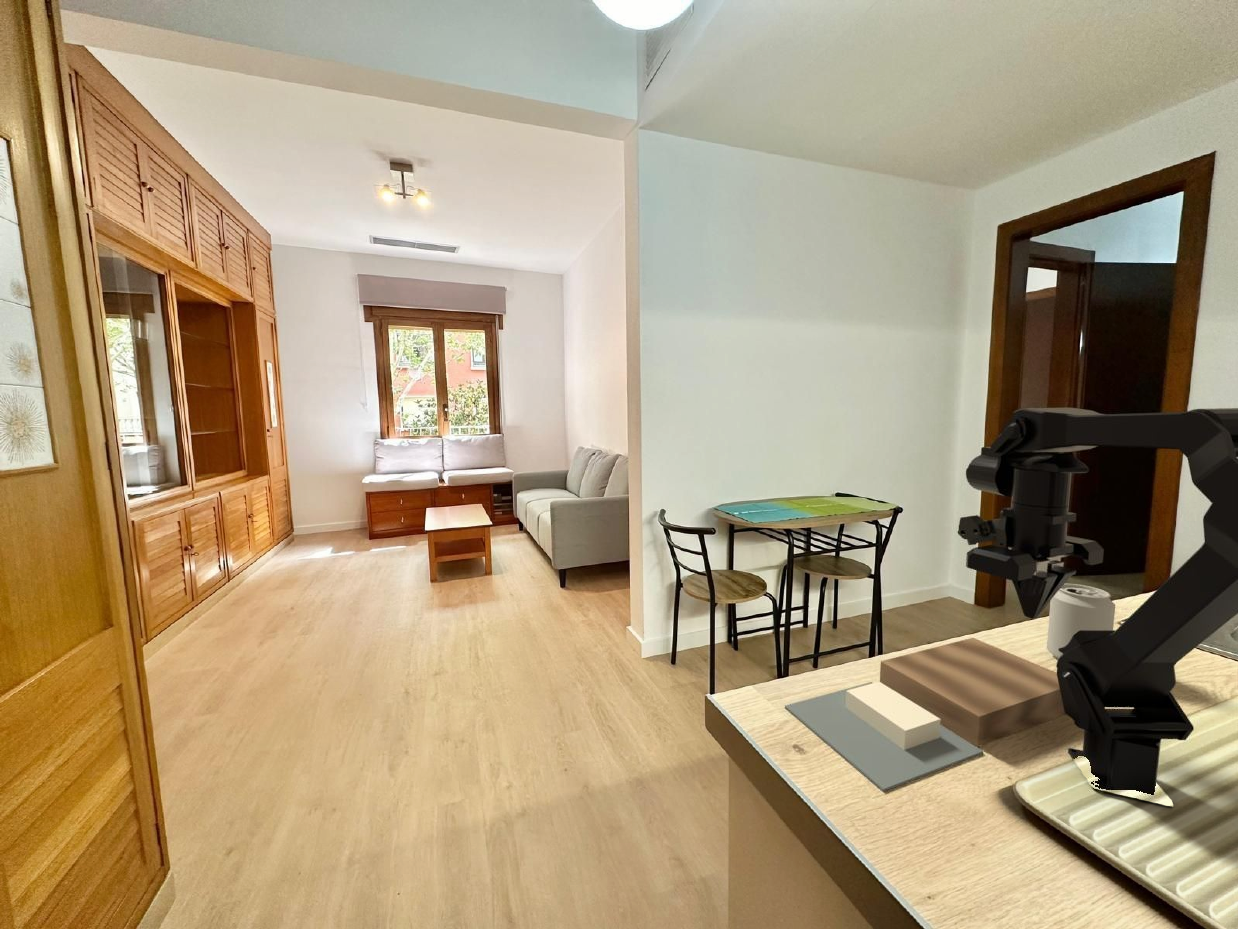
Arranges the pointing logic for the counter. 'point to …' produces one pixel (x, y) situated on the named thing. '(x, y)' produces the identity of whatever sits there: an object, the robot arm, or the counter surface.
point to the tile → (893, 715)
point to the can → (1077, 614)
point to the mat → (877, 743)
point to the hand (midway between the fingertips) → (1030, 617)
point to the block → (976, 689)
